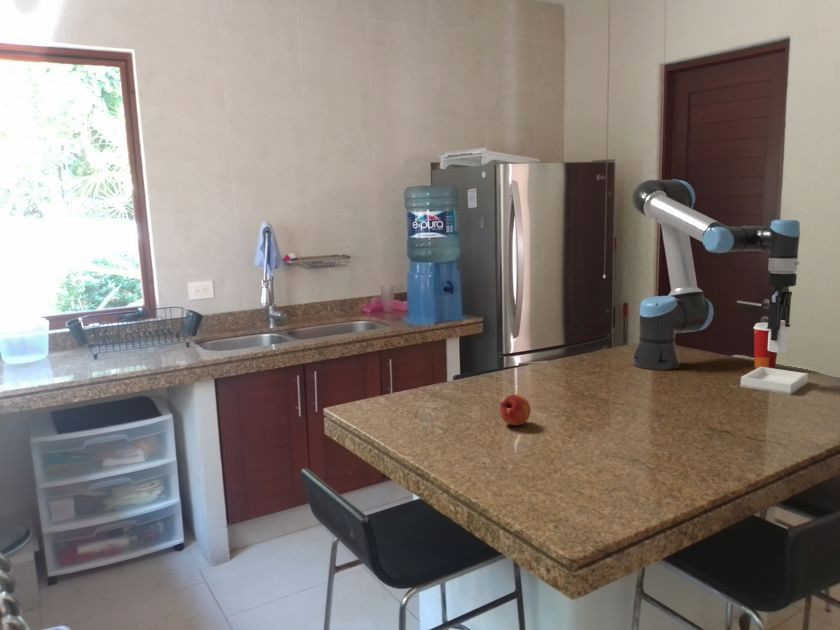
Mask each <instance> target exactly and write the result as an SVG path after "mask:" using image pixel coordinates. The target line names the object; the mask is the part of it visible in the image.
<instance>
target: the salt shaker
mask: <svg viewBox="0 0 840 630" xmlns="http://www.w3.org/2000/svg"><path fill="white" fill-rule="evenodd" d="M784 327H785V321H784V320H781V323H780V329H779V330H781V337H780V351H779V352H777V351H771V352H776V353H777V354H780V353H781V354H782V353H787V351H788V340H789V332H787V330H786V331H784ZM769 342H770V331H769V337H768V351H769Z"/></svg>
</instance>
